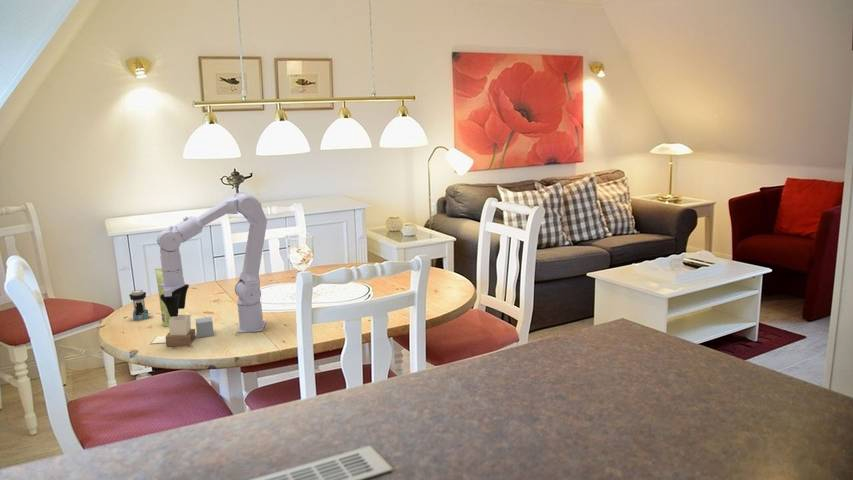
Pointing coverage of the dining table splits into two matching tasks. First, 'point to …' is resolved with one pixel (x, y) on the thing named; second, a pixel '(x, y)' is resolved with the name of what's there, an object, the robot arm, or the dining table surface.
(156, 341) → the swatch
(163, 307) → the tube
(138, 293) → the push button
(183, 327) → the cream cube
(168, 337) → the walnut block
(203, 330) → the slate cube
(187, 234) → the robot arm
